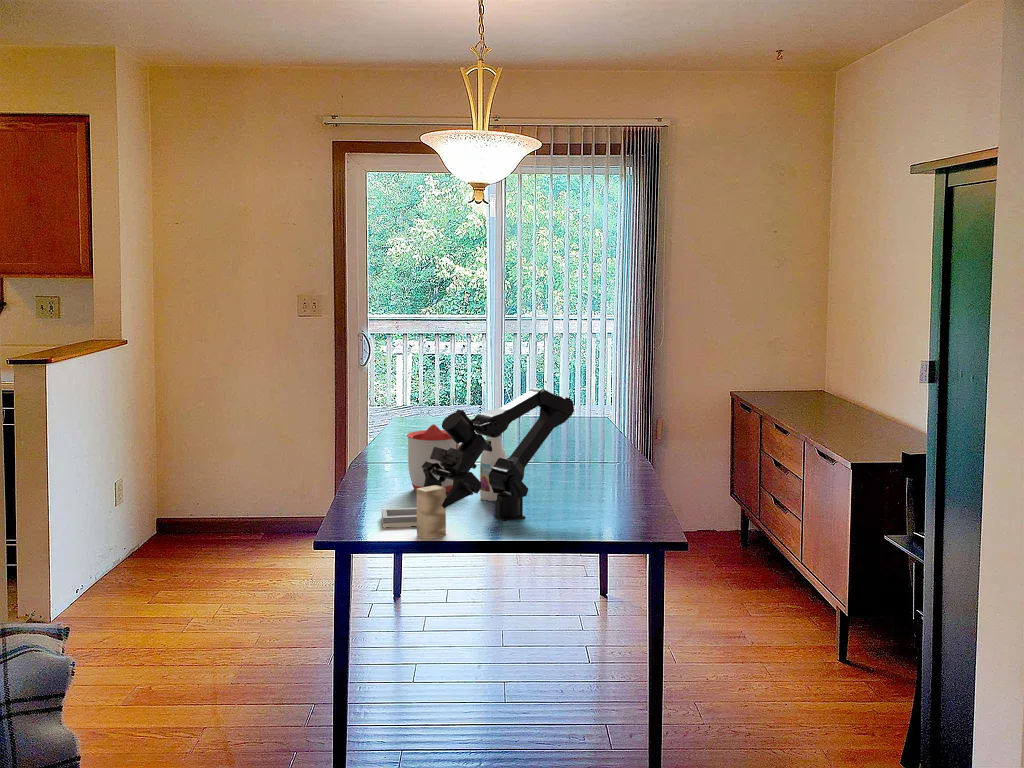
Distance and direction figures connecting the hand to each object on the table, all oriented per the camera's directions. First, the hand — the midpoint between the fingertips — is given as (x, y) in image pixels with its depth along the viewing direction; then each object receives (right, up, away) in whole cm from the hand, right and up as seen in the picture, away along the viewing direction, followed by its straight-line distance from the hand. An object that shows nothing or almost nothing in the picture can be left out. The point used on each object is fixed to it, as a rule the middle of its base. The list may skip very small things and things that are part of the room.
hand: (432, 503), depth 236 cm
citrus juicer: (-3, -2, +47) cm, 47 cm away
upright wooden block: (0, -8, +1) cm, 8 cm away
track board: (-6, -6, +13) cm, 16 cm away
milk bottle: (+15, -3, +37) cm, 40 cm away
